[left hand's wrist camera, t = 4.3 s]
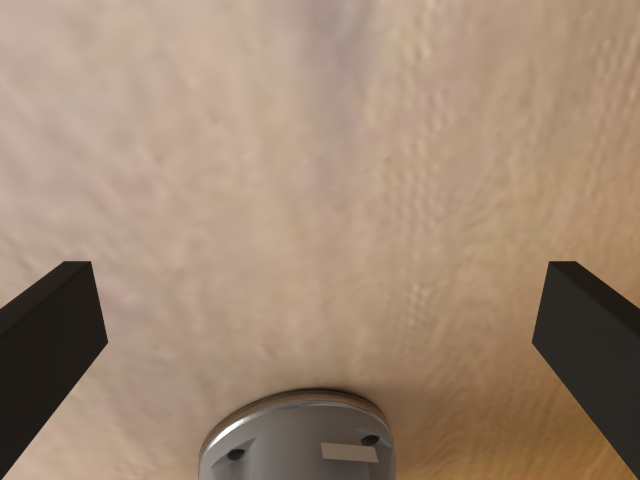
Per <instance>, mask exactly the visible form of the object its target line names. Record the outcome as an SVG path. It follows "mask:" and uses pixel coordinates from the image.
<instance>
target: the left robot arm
mask: <svg viewBox="0 0 640 480" xmlns="http://www.w3.org/2000/svg"><path fill="white" fill-rule="evenodd" d="M107 343H108V339H107V334H106V330H105V325H104V320H103V316H102V311H101V306H100V302H99V297H98V292H97V288H96V283H95V278H94V274H93V269H92V264H91V261H64V262H63V263H61V264H60V265H59V266H57V267H56V268H55V269H53V270H52V271H51V272H49V273H48V274H47V275H45V276H44V277H43V278H41V279H40V280H39V281H37V282H36V283H35V284H33V285H32V286H30V287H29V288H28V289H26V290H25V291H24V292H22V293H21V294H20V295H18V296H17V297H16V298H14V299H13V300H12V301H10V302H9V303H8V304H6V305H5V306H4V307H2V308H1V309H0V480H2V479H3V477H4V476H5V475H6V473H7V472H8V471H9V470H10V468H11V467H12V466H13V464H14V463H15V462H16V461H17V459H18V458H19V457H20V455H21V454H22V453H23V451H24V450H25V449H26V448H27V446H28V445H29V444H30V442H31V441H32V440H33V439H34V437H35V436H36V435H37V433H38V432H39V431H40V430H41V428H42V427H43V426H44V424H45V423H46V422H47V421H48V419H49V418H50V417H51V415H52V414H53V413H54V412H55V410H56V409H57V408H58V406H59V405H60V404H61V403H62V401H63V400H64V399H65V397H66V396H67V395H68V394H69V392H70V391H71V390H72V388H73V387H74V386H75V385H76V383H77V382H78V381H79V379H80V378H81V377H82V376H83V374H84V373H85V372H86V370H87V369H88V368H89V367H90V365H91V364H92V363H93V361H94V360H95V359H96V358H97V356H98V355H99V354H100V352H101V351H102V350H103V349H104V347H105V346H106V345H107ZM532 343H533V345H534V346H535V347H536V349H537V350H538V351H539V352H540V354H541V355H542V356H543V358H544V359H545V360H546V361H547V363H548V364H549V365H550V367H551V368H552V369H553V370H554V372H555V373H556V374H557V376H558V377H559V378H560V379H561V381H562V382H563V383H564V385H565V386H566V387H567V388H568V390H569V391H570V392H571V394H572V395H573V396H574V397H575V399H576V400H577V401H578V403H579V404H580V405H581V406H582V408H583V409H584V410H585V412H586V413H587V414H588V415H589V417H590V418H591V419H592V421H593V422H594V423H595V424H596V426H597V427H598V428H599V430H600V431H601V432H602V433H603V435H604V436H605V437H606V439H607V440H608V441H609V442H610V444H611V445H612V446H613V448H614V449H615V450H616V451H617V453H618V454H619V455H620V457H621V458H622V459H623V460H624V462H625V463H626V464H627V466H628V467H629V468H630V470H631V471H632V472H633V473H634V475H635V476H636V477H637V479H638V480H640V309H639V308H638V307H636V306H635V305H634V304H632V303H631V302H630V301H628V300H627V299H626V298H624V297H623V296H622V295H620V294H619V293H618V292H616V291H615V290H614V289H612V288H611V287H610V286H608V285H607V284H605V283H604V282H603V281H601V280H600V279H599V278H597V277H596V276H595V275H593V274H592V273H591V272H589V271H588V270H587V269H585V268H584V267H583V266H581V265H580V264H579V263H577V262H576V261H549V264H548V269H547V274H546V278H545V283H544V288H543V292H542V297H541V302H540V306H539V311H538V316H537V320H536V325H535V330H534V334H533V339H532ZM198 476H199V480H396V455H395V448H394V443H393V438H392V435H391V432H390V429H389V425H388V422H387V420H386V418H385V416H384V415H383V413H382V412H381V411H380V410H379V409H378V408H377V407H376V406H374V405H373V404H372V403H370V402H368V401H366V400H364V399H362V398H360V397H357V396H354V395H351V394H347V393H342V392H336V391H326V390H309V391H297V392H290V393H284V394H280V395H276V396H272V397H268V398H265V399H262V400H259V401H257V402H254V403H252V404H249V405H247V406H245V407H243V408H241V409H239V410H237V411H236V412H234V413H232V414H231V415H229V416H228V417H226V418H225V419H224V420H222V421H221V422H220V423H219V424H218V425H217V426H216V427H215V428H214V429H213V430H212V431H211V432H210V433H209V435H208V436H207V437H206V439H205V441H204V443H203V445H202V447H201V450H200V456H199V471H198Z"/></svg>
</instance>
